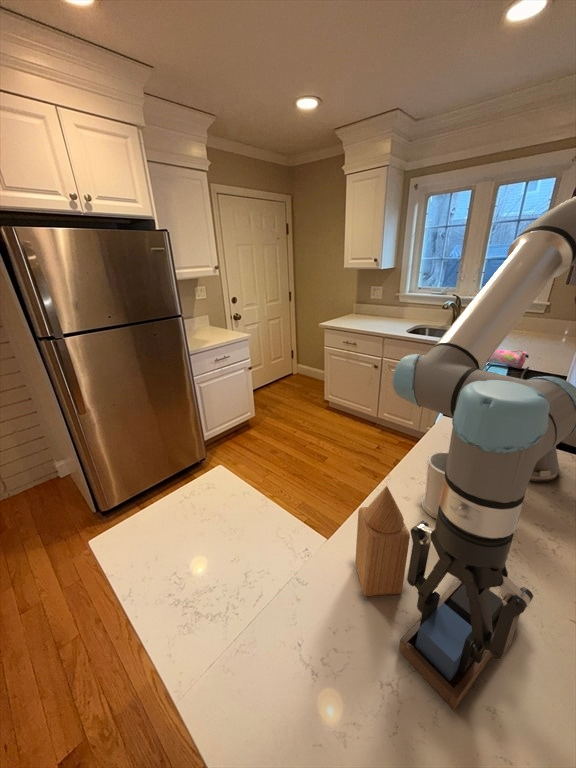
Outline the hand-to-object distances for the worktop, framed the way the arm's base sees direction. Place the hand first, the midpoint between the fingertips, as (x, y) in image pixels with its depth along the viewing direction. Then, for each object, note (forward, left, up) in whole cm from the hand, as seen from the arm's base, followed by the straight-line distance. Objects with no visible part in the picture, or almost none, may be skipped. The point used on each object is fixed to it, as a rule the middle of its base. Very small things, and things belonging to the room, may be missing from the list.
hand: (444, 646), depth 44 cm
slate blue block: (0, 0, 0) cm, 0 cm away
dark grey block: (-8, 0, -1) cm, 8 cm away
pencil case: (-144, -53, -2) cm, 153 cm away
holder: (-4, 0, -2) cm, 5 cm away
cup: (-27, -15, -2) cm, 31 cm away
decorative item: (-2, -13, -2) cm, 13 cm away
